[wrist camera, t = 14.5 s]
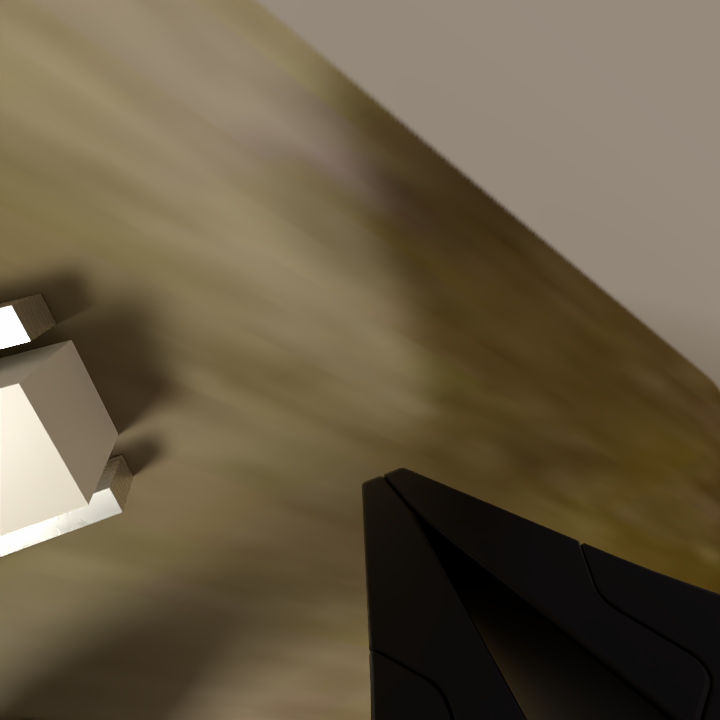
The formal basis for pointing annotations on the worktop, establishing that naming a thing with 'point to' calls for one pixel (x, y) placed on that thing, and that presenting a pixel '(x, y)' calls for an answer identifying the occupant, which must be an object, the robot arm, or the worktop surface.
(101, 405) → the white block
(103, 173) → the worktop surface
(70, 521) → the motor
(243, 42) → the worktop surface
